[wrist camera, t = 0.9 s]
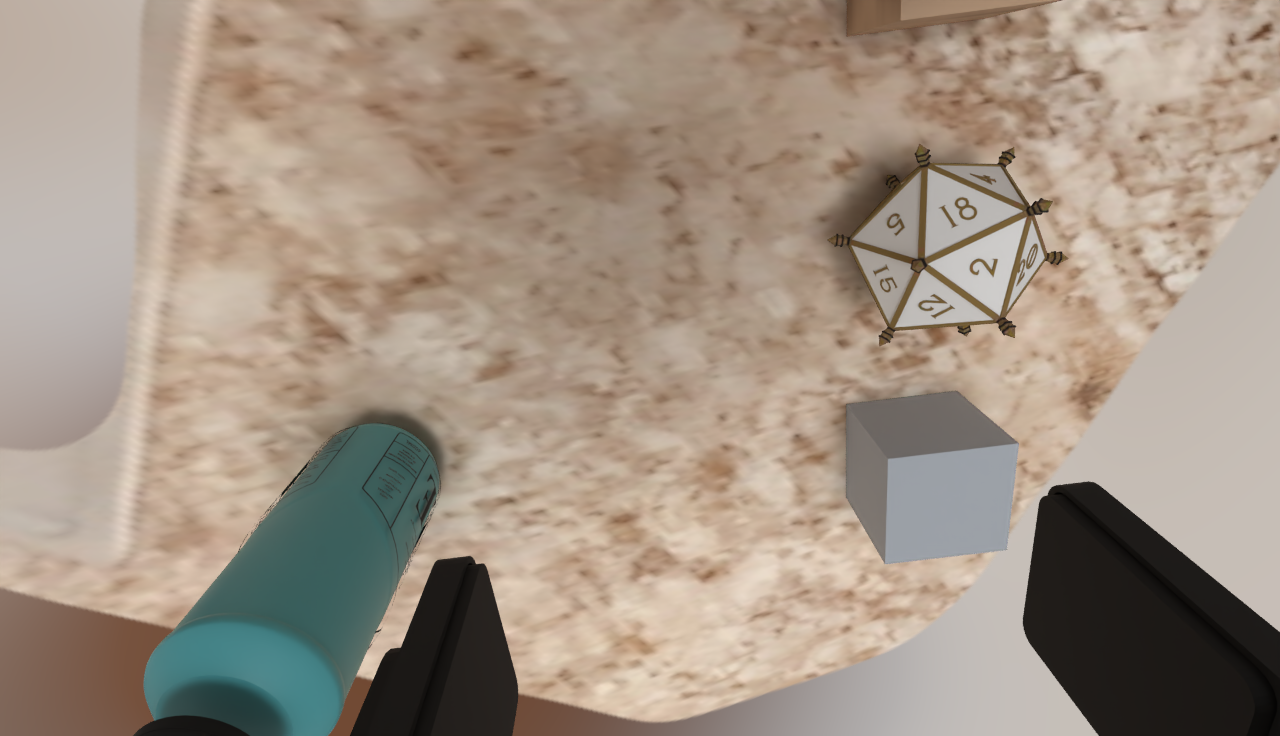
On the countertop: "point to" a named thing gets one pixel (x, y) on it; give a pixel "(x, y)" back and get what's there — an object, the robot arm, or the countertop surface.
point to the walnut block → (924, 12)
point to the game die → (950, 247)
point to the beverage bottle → (298, 596)
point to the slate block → (929, 476)
